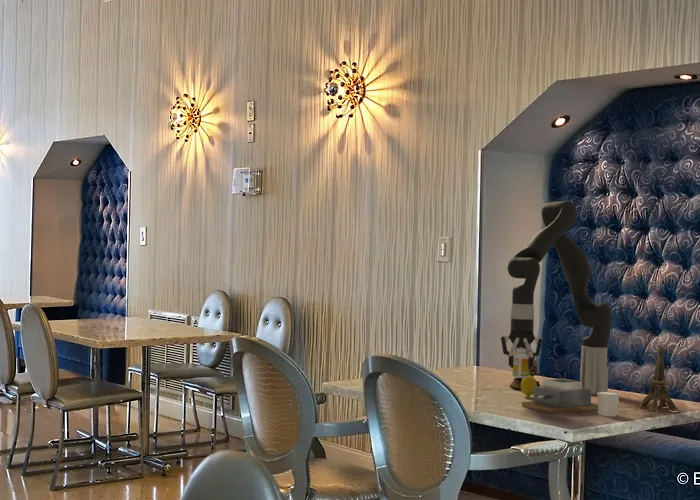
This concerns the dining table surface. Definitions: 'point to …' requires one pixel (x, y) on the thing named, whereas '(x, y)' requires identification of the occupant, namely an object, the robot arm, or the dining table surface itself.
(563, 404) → the grey and brown box
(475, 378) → the dining table surface
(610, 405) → the white cup
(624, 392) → the dining table surface
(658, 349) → the eiffel tower
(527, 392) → the lemon
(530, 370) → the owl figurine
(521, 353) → the supplement bottle
